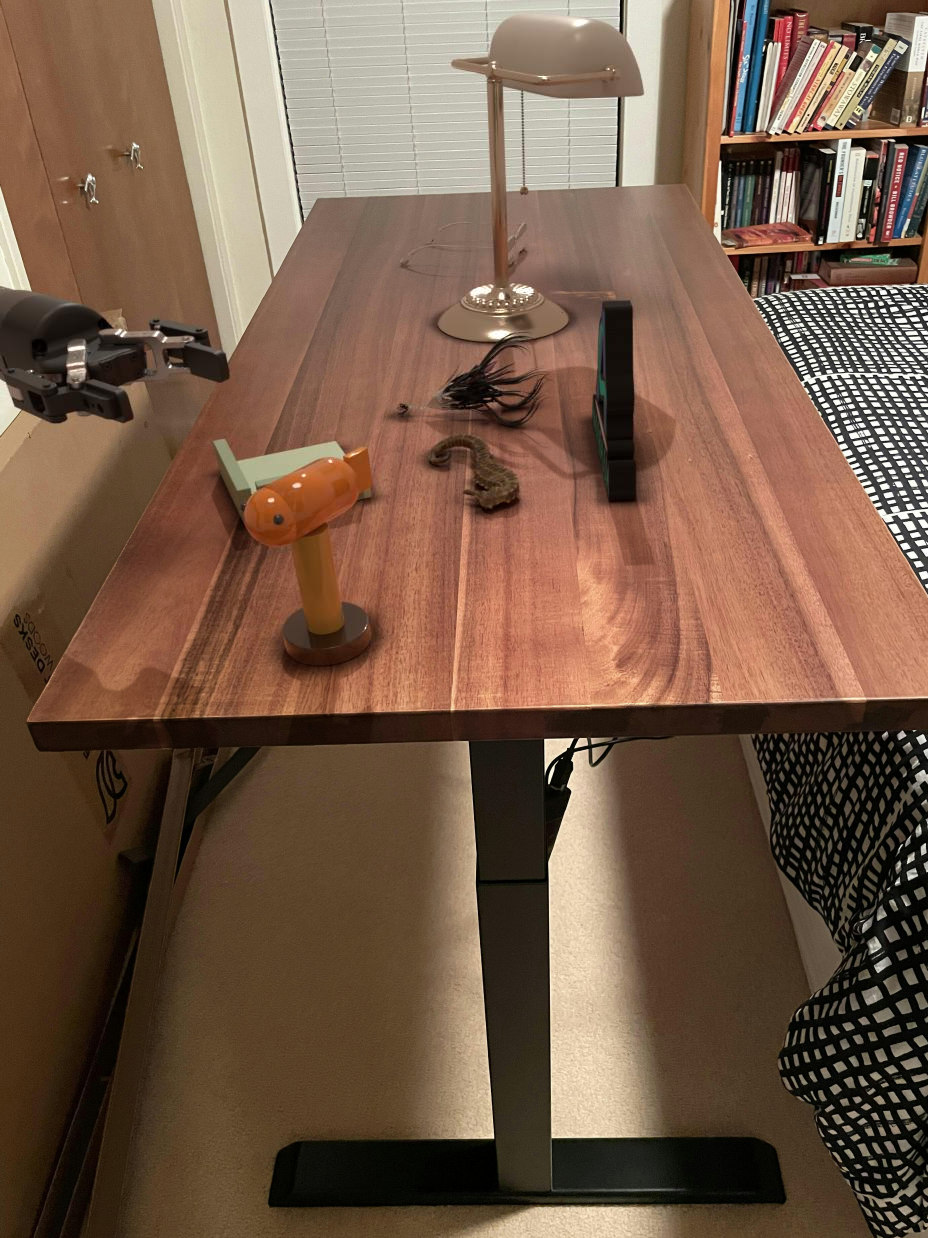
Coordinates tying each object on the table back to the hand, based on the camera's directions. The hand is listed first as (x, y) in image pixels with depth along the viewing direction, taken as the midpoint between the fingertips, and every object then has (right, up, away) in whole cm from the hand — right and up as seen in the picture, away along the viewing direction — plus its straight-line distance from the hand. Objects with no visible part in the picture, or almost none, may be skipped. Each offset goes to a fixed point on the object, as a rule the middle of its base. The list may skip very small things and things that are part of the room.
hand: (177, 387), depth 68 cm
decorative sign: (+33, +1, +29) cm, 44 cm away
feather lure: (+20, +8, +38) cm, 43 cm away
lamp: (+25, +29, +65) cm, 75 cm away
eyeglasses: (+16, +49, +91) cm, 105 cm away
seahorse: (+20, -1, +26) cm, 33 cm away
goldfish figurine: (+10, -18, +5) cm, 21 cm away
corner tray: (+2, -2, +26) cm, 26 cm away
